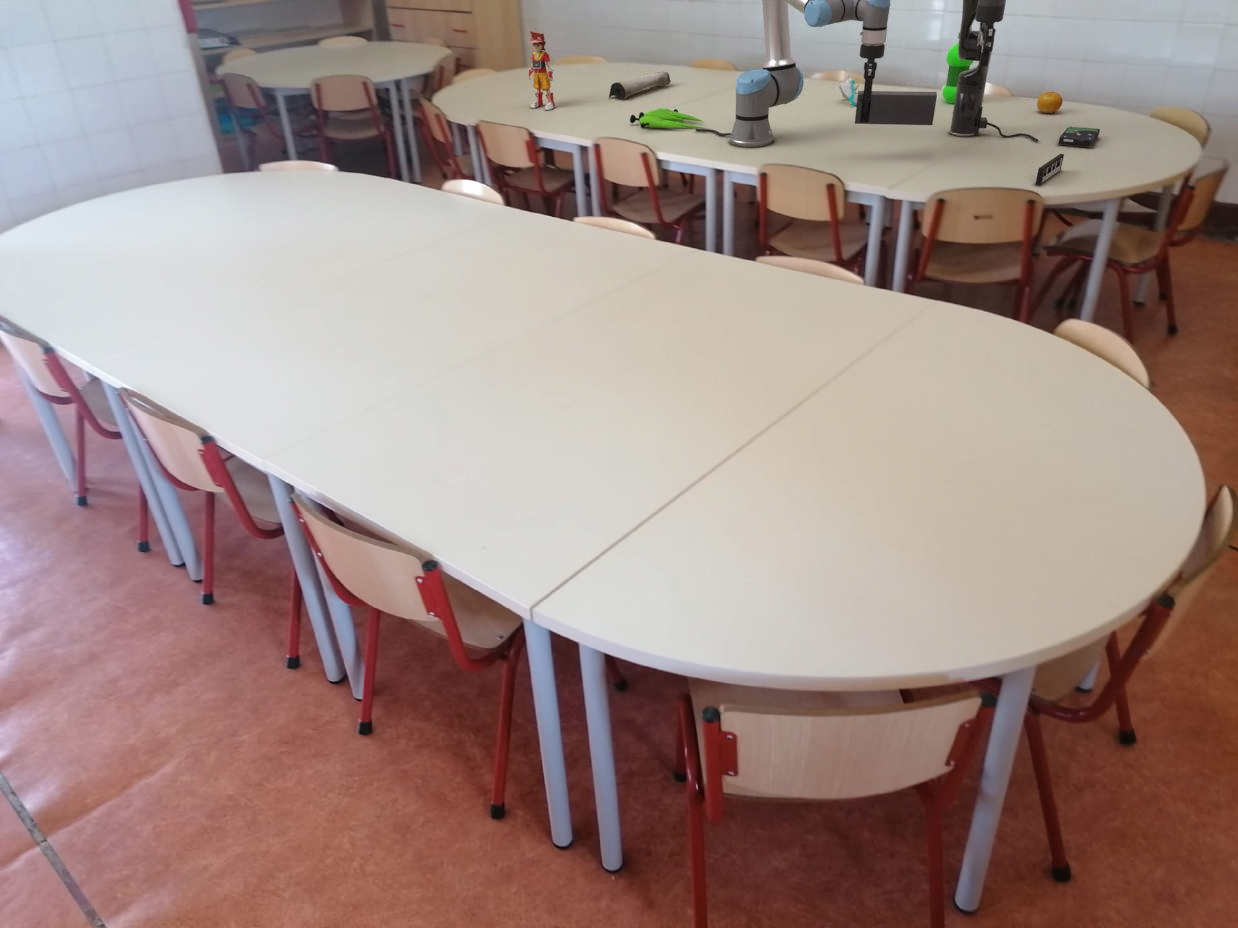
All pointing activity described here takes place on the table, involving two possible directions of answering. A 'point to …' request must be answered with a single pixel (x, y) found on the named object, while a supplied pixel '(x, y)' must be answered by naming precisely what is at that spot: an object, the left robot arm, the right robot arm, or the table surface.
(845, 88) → the anatomical model
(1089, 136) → the disk drive
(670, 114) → the toy
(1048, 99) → the fruit
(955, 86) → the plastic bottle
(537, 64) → the toy
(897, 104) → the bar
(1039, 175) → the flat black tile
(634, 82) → the rolled mat
